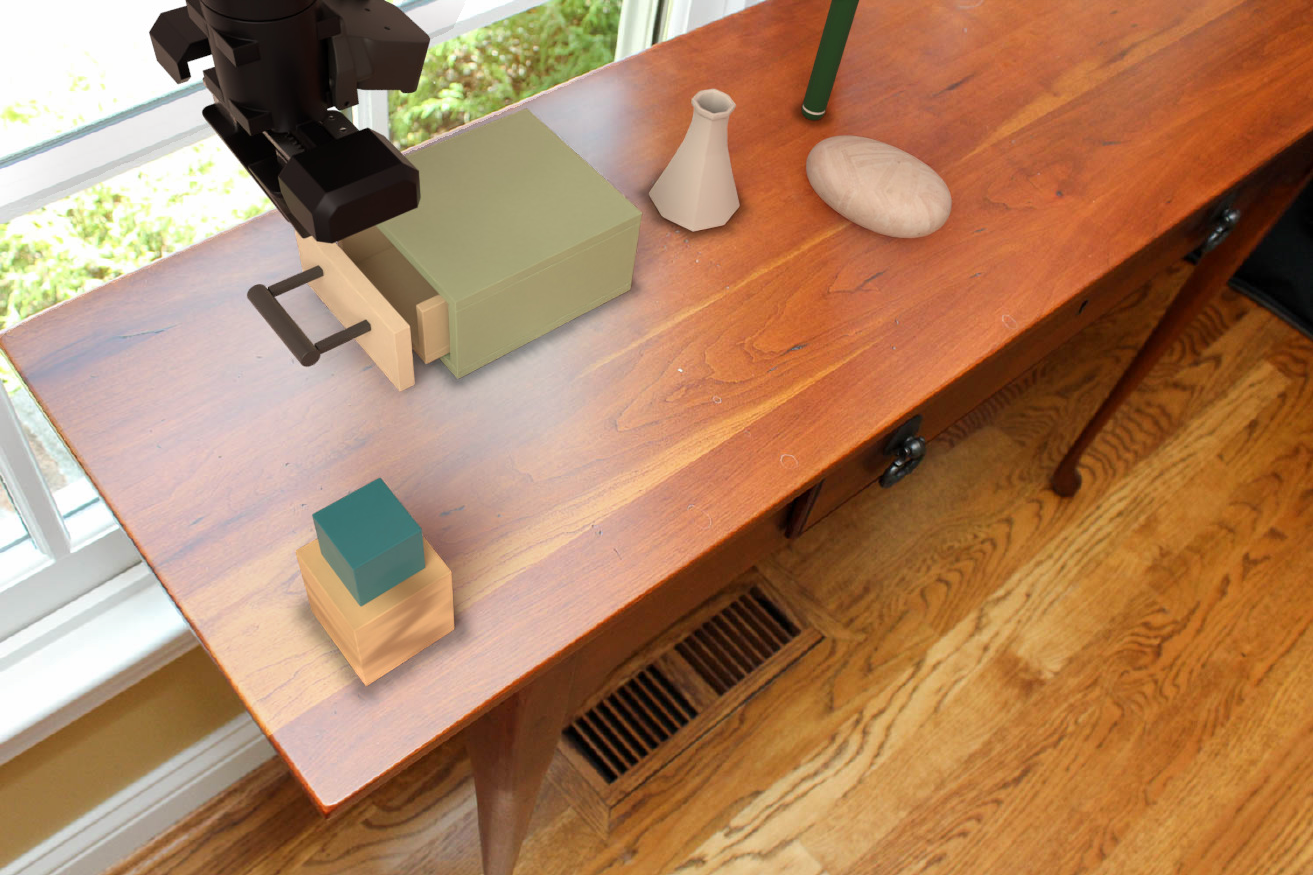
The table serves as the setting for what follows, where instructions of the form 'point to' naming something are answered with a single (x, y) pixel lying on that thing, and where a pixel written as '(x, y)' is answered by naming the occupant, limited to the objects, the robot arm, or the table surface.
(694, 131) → the flask
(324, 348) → the drawer
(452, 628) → the riser
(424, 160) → the cabinet
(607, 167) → the table surface
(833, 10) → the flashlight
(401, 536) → the block
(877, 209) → the decorative stone
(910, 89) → the table surface
